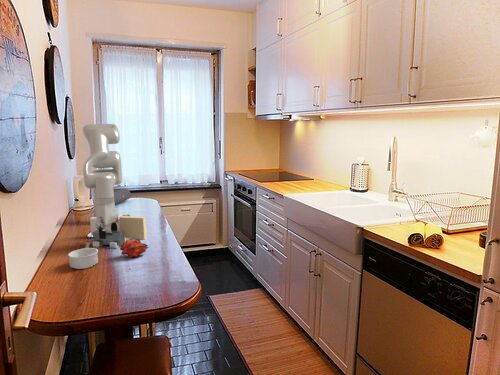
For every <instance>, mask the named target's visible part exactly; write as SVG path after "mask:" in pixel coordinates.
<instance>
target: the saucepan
mask: <svg viewBox="0 0 500 375" xmlns="http://www.w3.org/2000/svg"><path fill="white" fill-rule="evenodd" d="M90 244H91V241H87V242H86V244H85V247H84V248H80V249H79V248H78V249H75V250H72V251H70V252H68V254H67V257H68V258H69V259H68V261H69V267H70V268H73V269H75V270H85V269H89V268H92V267H94V266H95V265H96V264H98V263H99V255H98V252H99V250H98V248H96V247H89V246H90ZM93 265H94V266H93Z"/></svg>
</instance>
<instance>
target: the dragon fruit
mask: <svg viewBox="0 0 500 375" xmlns="http://www.w3.org/2000/svg"><path fill="white" fill-rule="evenodd" d="M119 249H120V251H121V253H120V254H121V255H124V256H125V255H126V256H127V258H129V257H130V259H132V258H133V257H137V258H140V257H143V256H144V254H143V253H146V251H147V249H149V246H148V244H147V243H145V242H141V239H130V240H126V241H125V242H123V244H122V245H121V246H119Z"/></svg>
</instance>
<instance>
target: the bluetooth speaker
mask: <svg viewBox="0 0 500 375" xmlns="http://www.w3.org/2000/svg"><path fill="white" fill-rule="evenodd" d="M113 191H114V190H113ZM131 197H132V193H131V191H130V190H129V189H128V188H122V189H117V190H115V191H114V203H115V207H116V206H119V205H121V204H124V202H125V201H127V200H129V199H131Z"/></svg>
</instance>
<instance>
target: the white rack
mask: <svg viewBox="0 0 500 375" xmlns="http://www.w3.org/2000/svg"><path fill="white" fill-rule="evenodd" d="M121 216H122V217H121ZM121 216H119V217H120V218H119V217H118V221H117V222H118V224H117V230H118V231H124V236H125V241H126V240H130V239H131V240H132V239H134V240H136V239H137V240H141V239H142V241H143V240H146V239H148V229H147V217H146V216H137V215H136V216H134V215H133V216H131V215H130V216H123V215H121ZM96 222H97V218H96V217H95V216H92V217H90V218H89V223H90V234H91V235H93V232H94V231H96V230H98V229H97V227H96V225H95V223H96ZM111 225H112V224H109V225H107V226H106V227H105V230H111ZM101 227H102V228H103V226H101ZM102 246H103V245H100V244H99V242H93V241H92V248H96V249H98V248H101V247H102ZM120 247H121V245H117V243H113V242H111V243H110V245H109V249H117V248H120Z"/></svg>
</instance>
